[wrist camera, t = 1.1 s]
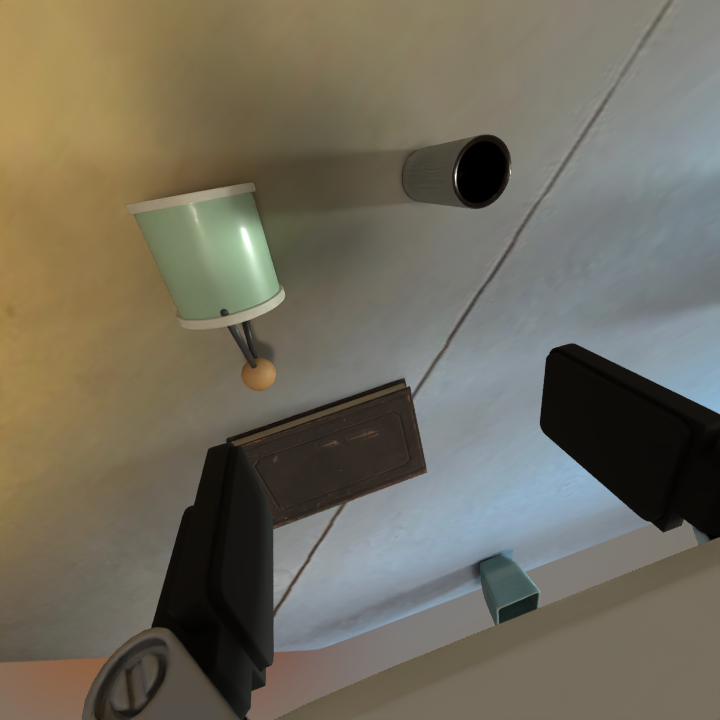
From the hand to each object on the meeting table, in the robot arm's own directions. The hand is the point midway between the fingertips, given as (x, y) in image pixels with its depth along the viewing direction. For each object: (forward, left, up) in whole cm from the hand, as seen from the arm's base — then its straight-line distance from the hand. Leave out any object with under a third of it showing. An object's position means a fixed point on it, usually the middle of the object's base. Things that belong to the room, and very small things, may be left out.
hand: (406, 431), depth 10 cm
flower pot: (+68, +22, -27) cm, 76 cm away
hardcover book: (+26, -3, -27) cm, 38 cm away
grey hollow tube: (-5, +12, -27) cm, 30 cm away
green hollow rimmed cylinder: (+2, -8, -27) cm, 28 cm away
